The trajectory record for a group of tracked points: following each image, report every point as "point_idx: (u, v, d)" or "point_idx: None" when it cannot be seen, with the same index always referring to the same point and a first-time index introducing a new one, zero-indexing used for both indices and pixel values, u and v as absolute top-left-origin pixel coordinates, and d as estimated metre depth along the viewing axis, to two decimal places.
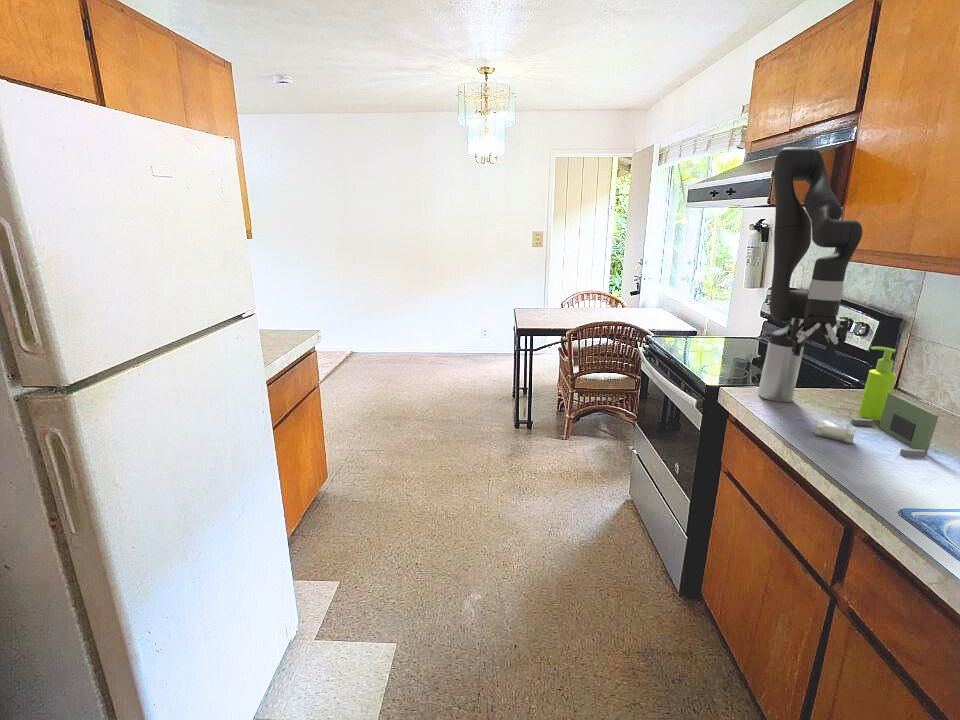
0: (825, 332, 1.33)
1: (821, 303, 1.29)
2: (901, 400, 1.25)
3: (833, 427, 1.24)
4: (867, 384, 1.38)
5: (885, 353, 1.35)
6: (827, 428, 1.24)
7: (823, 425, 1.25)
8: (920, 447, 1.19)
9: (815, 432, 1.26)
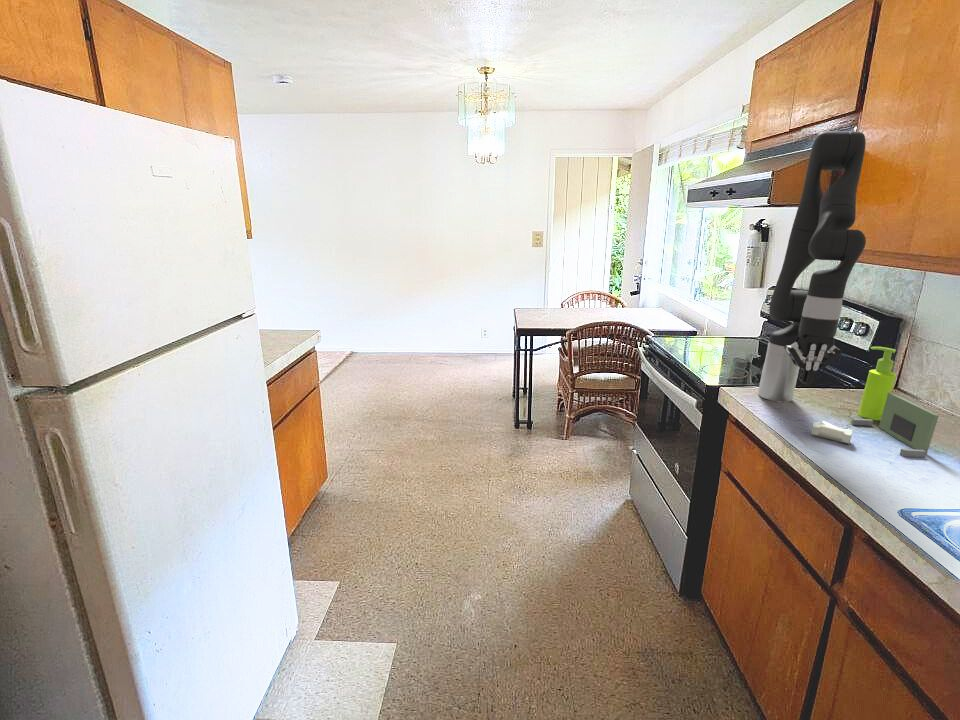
0: (815, 352, 1.20)
1: (817, 322, 1.16)
2: (901, 400, 1.25)
3: (830, 427, 1.24)
4: (867, 384, 1.38)
5: (885, 353, 1.35)
6: (824, 428, 1.24)
7: (820, 425, 1.25)
8: (920, 447, 1.19)
9: (812, 432, 1.26)
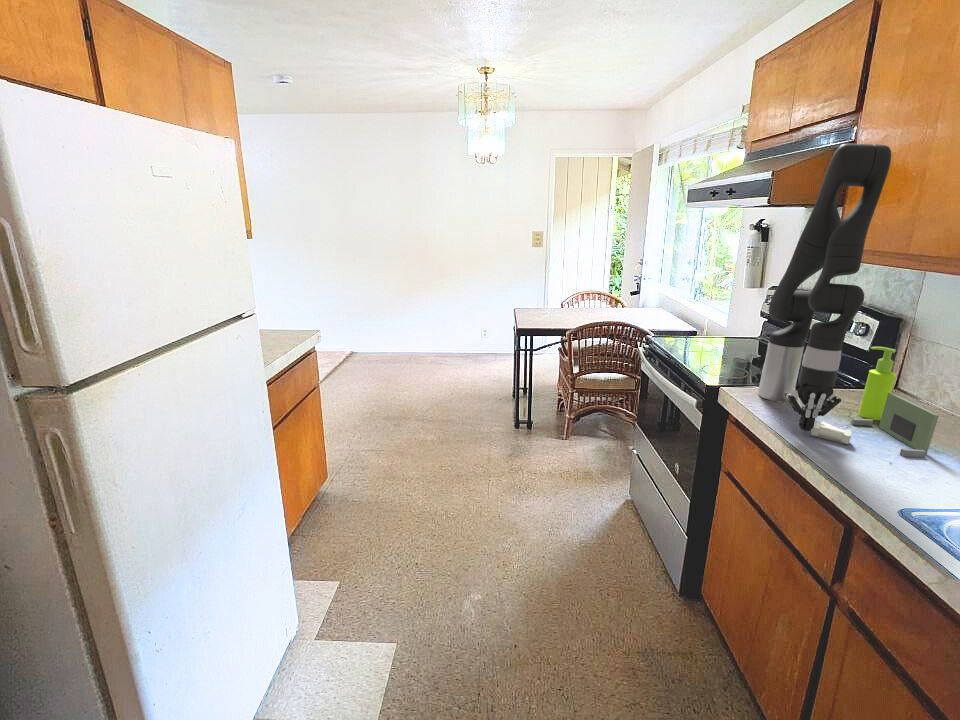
0: (815, 400, 1.23)
1: (816, 373, 1.19)
2: (901, 400, 1.25)
3: (830, 428, 1.24)
4: (867, 384, 1.38)
5: (885, 353, 1.35)
6: (824, 429, 1.24)
7: (820, 426, 1.25)
8: (920, 447, 1.19)
9: (812, 433, 1.25)
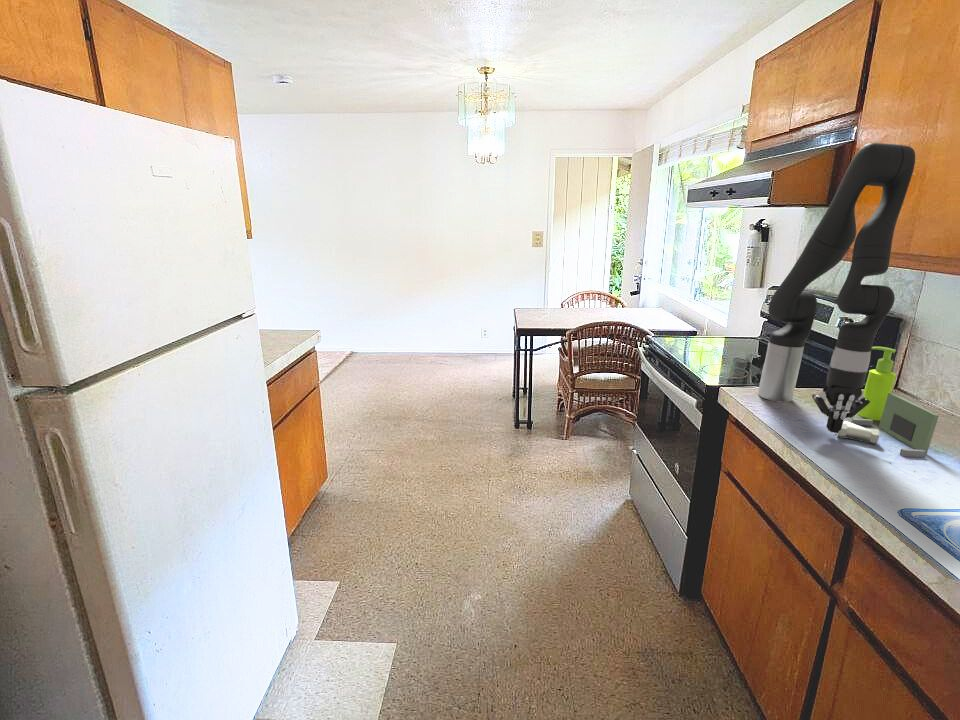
0: (843, 402, 1.22)
1: (845, 374, 1.19)
2: (901, 400, 1.25)
3: (857, 428, 1.24)
4: (867, 384, 1.38)
5: (885, 353, 1.35)
6: (851, 429, 1.24)
7: (847, 426, 1.25)
8: (920, 447, 1.19)
9: (839, 434, 1.25)
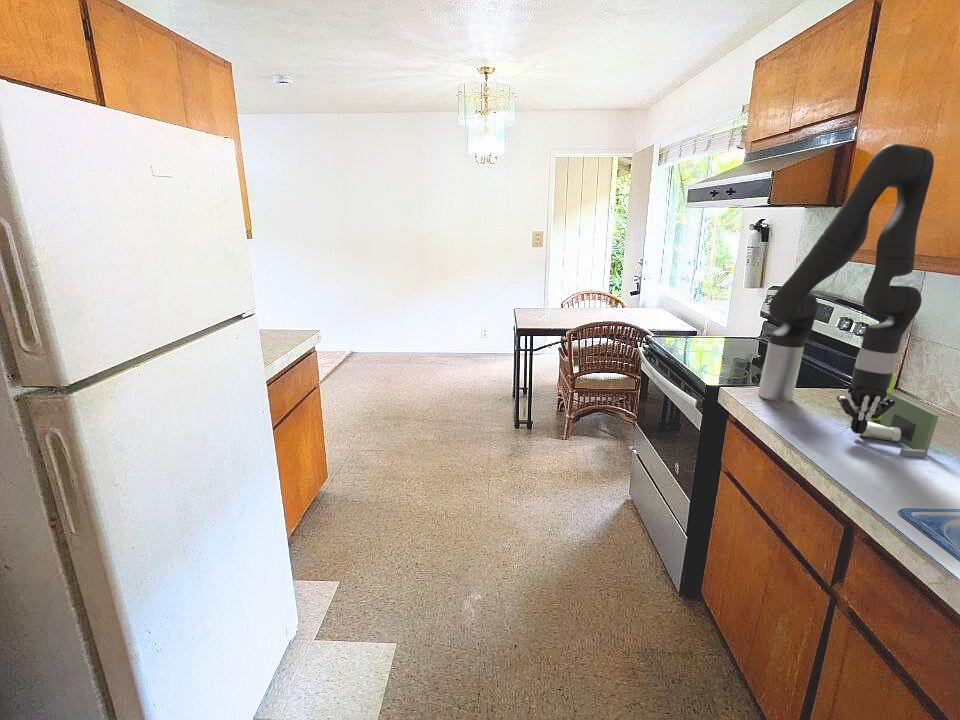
0: (868, 403, 1.22)
1: (871, 376, 1.18)
2: (901, 400, 1.25)
3: (879, 427, 1.25)
4: None
5: None
6: (874, 429, 1.25)
7: (869, 426, 1.25)
8: (920, 447, 1.19)
9: (862, 434, 1.25)
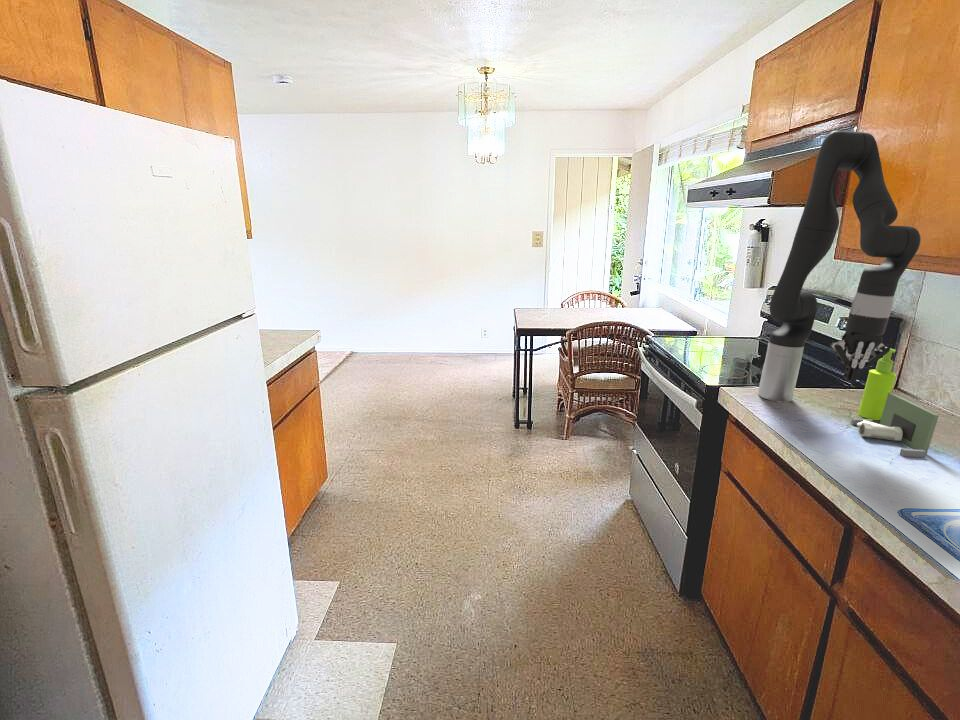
0: (862, 350, 1.19)
1: (866, 320, 1.15)
2: (901, 400, 1.25)
3: (881, 427, 1.25)
4: (867, 384, 1.38)
5: None
6: (876, 429, 1.25)
7: (871, 426, 1.25)
8: (920, 447, 1.19)
9: (865, 434, 1.25)
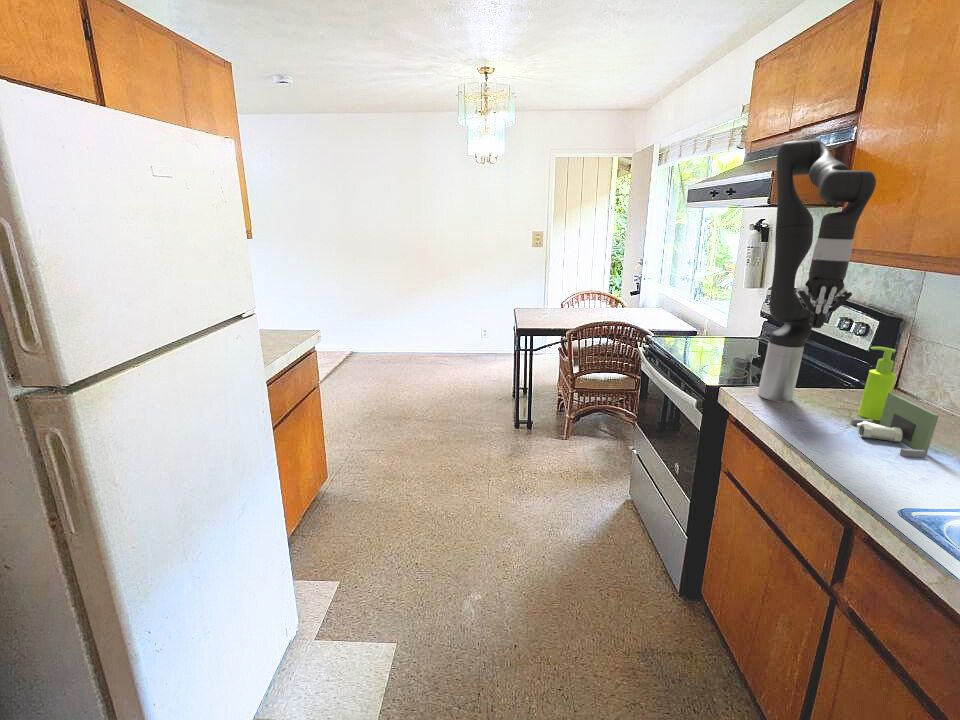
0: (825, 295, 1.21)
1: (827, 264, 1.18)
2: (901, 400, 1.25)
3: (880, 428, 1.24)
4: (867, 384, 1.38)
5: (885, 353, 1.35)
6: (876, 430, 1.24)
7: (871, 427, 1.25)
8: (920, 447, 1.19)
9: (865, 435, 1.25)
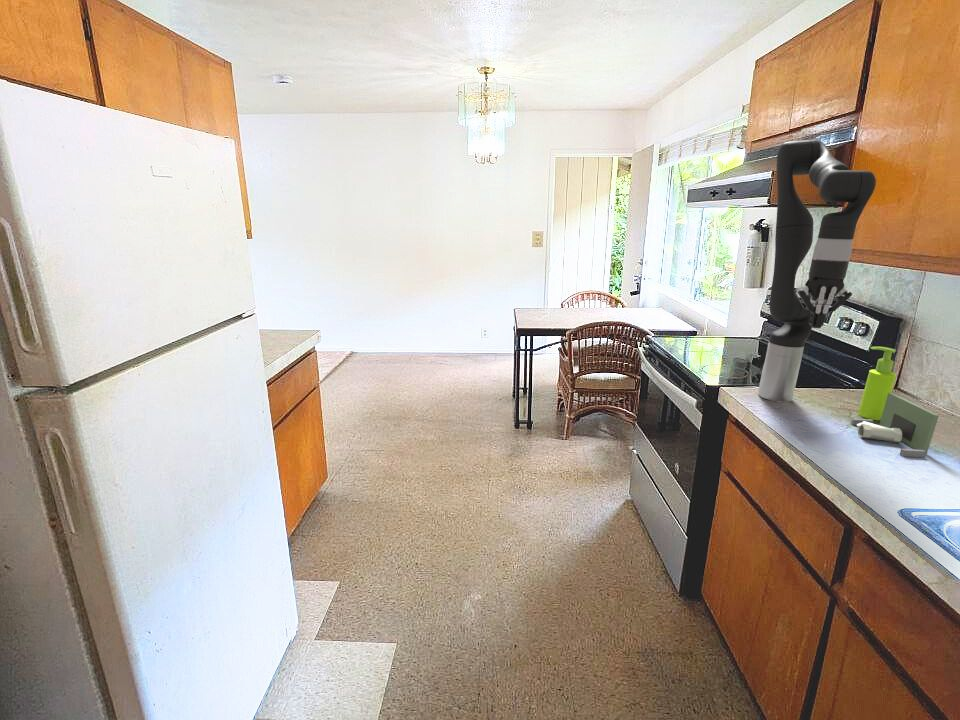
0: (825, 295, 1.21)
1: (827, 264, 1.18)
2: (901, 400, 1.25)
3: (880, 428, 1.24)
4: (867, 384, 1.38)
5: (885, 353, 1.35)
6: (875, 430, 1.24)
7: (870, 427, 1.25)
8: (920, 447, 1.19)
9: (864, 435, 1.25)
